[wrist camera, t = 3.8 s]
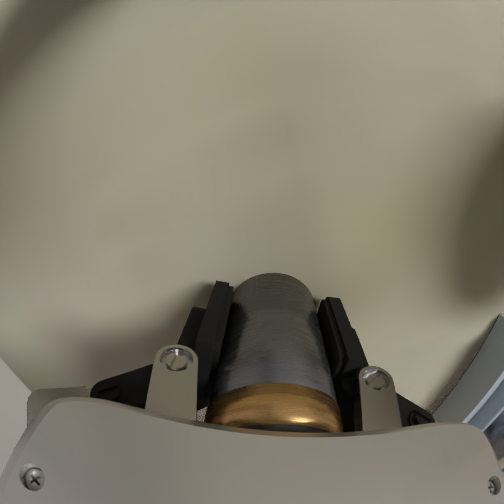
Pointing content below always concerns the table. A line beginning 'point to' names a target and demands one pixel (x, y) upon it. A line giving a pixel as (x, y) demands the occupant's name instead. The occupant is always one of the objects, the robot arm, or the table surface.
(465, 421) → the trough board
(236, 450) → the robot arm
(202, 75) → the table surface
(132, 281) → the table surface
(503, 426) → the cell
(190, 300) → the table surface
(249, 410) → the cell
